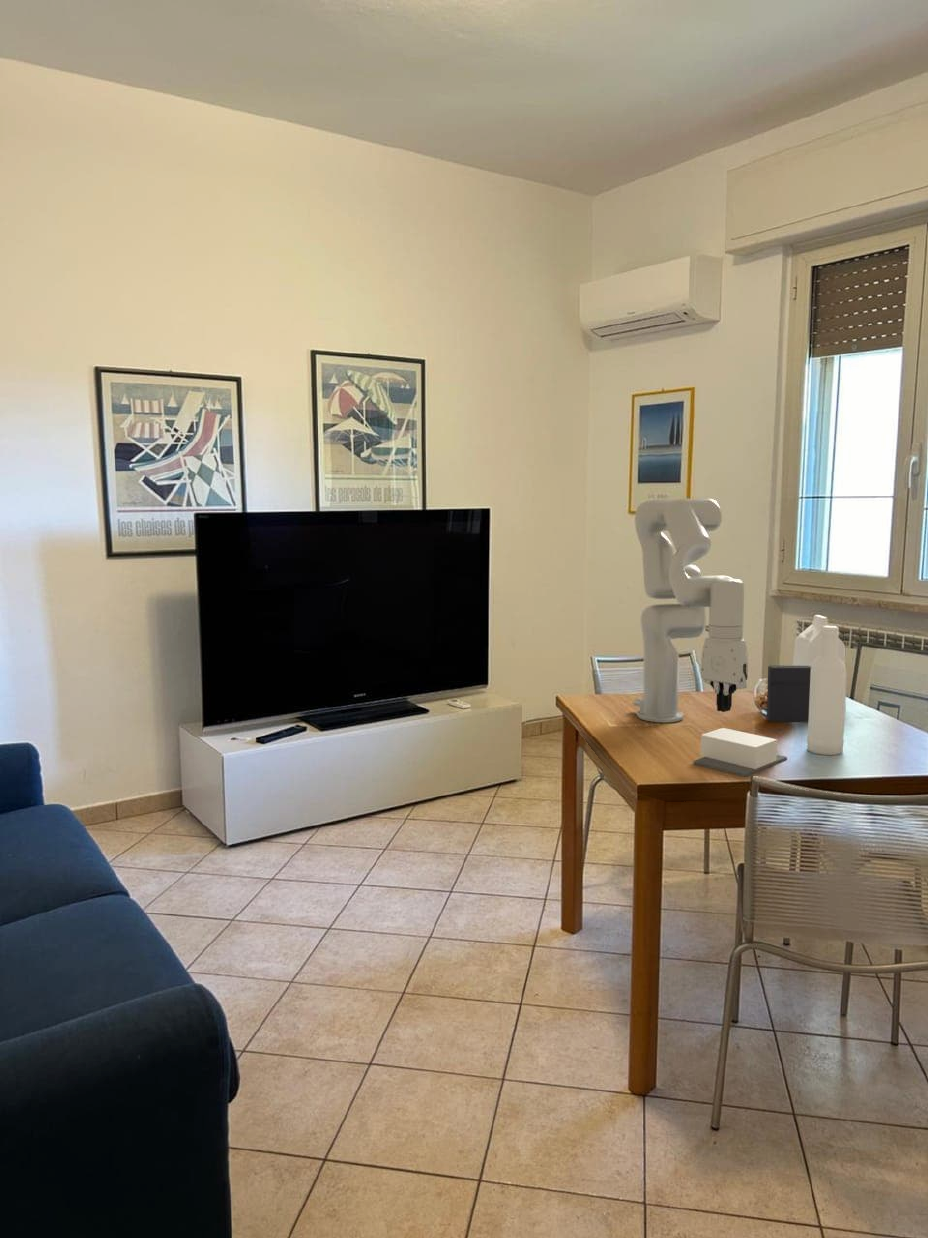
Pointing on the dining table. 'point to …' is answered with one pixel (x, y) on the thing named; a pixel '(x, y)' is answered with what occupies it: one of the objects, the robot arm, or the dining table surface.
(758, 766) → the flip block
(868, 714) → the dining table surface
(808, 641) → the milk
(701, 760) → the mat
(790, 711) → the dark grey box
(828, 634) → the bottle
